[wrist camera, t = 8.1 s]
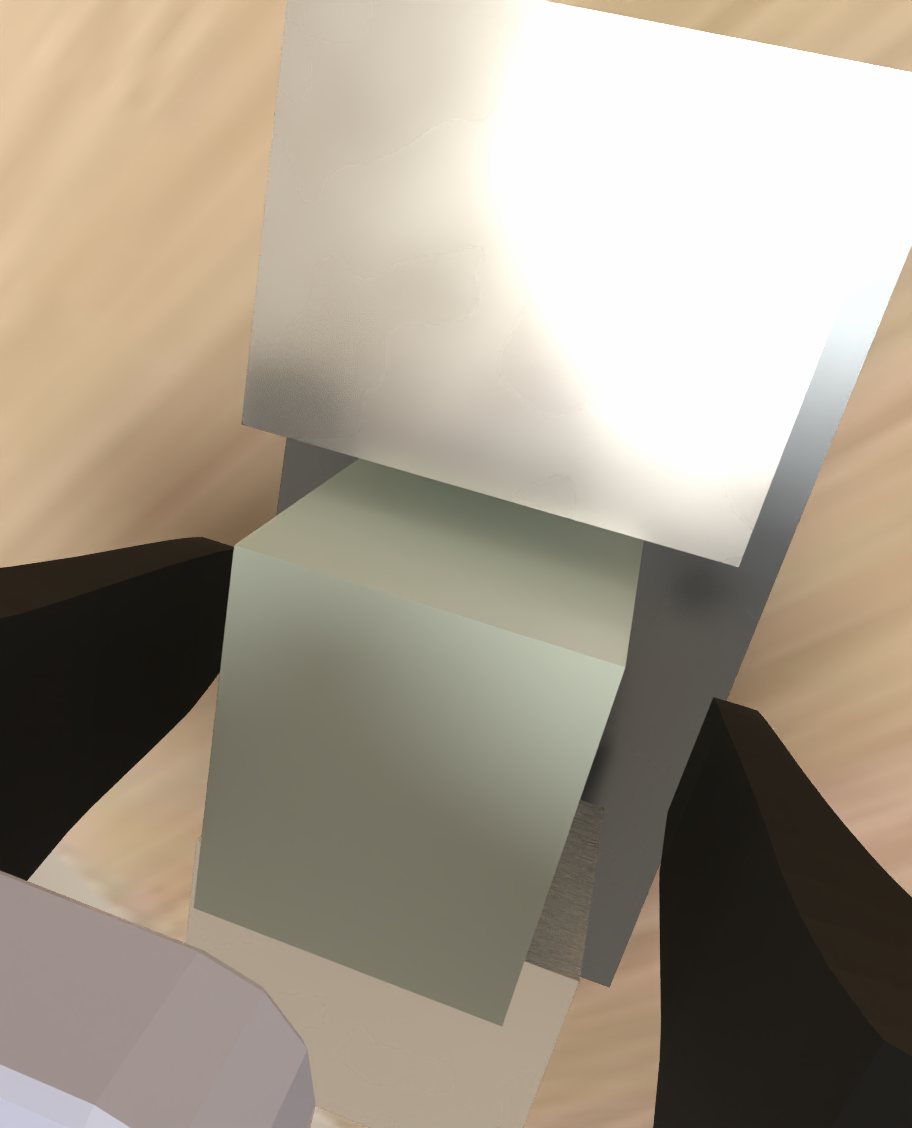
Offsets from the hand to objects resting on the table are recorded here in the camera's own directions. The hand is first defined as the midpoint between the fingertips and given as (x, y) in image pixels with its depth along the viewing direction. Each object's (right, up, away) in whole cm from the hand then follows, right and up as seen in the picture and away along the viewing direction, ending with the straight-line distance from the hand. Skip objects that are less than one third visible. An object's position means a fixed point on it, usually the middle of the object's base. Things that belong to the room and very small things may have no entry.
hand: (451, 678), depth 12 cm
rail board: (+1, +2, +4) cm, 5 cm away
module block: (+1, +1, +2) cm, 3 cm away
